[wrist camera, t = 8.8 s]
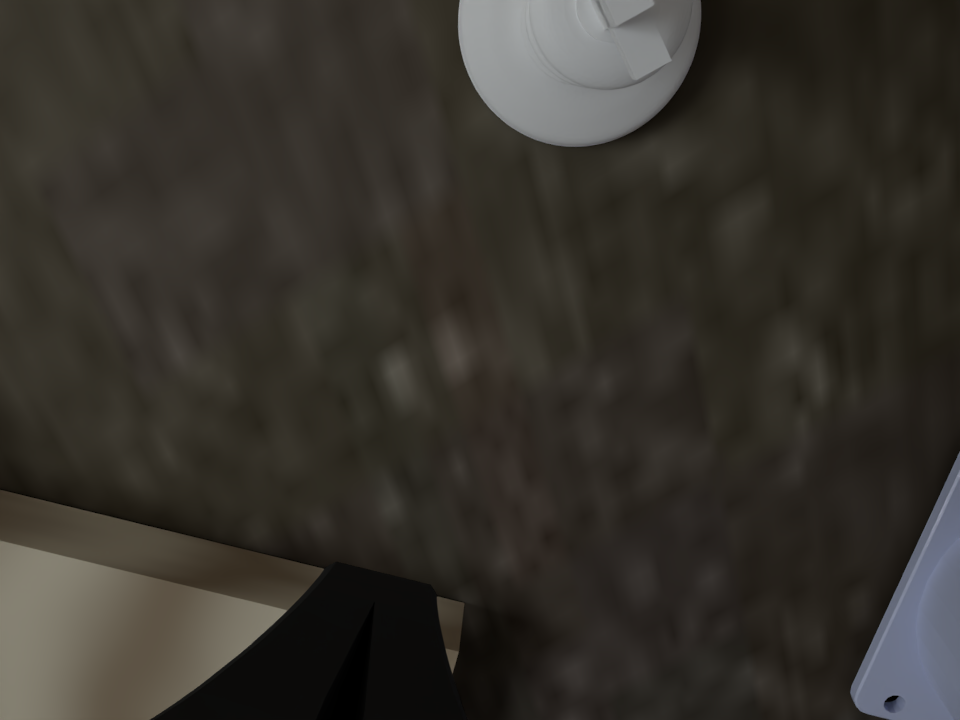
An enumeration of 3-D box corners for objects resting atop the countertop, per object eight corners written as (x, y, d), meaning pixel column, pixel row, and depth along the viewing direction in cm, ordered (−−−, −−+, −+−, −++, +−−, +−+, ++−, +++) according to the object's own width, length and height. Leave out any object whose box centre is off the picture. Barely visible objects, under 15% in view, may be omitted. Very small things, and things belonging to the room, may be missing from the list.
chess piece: (635, -160, 18) (755, -402, 8) (738, 74, 19) (944, 97, 10) (415, -28, 19) (298, -109, 9) (527, 187, 20) (524, 309, 11)
